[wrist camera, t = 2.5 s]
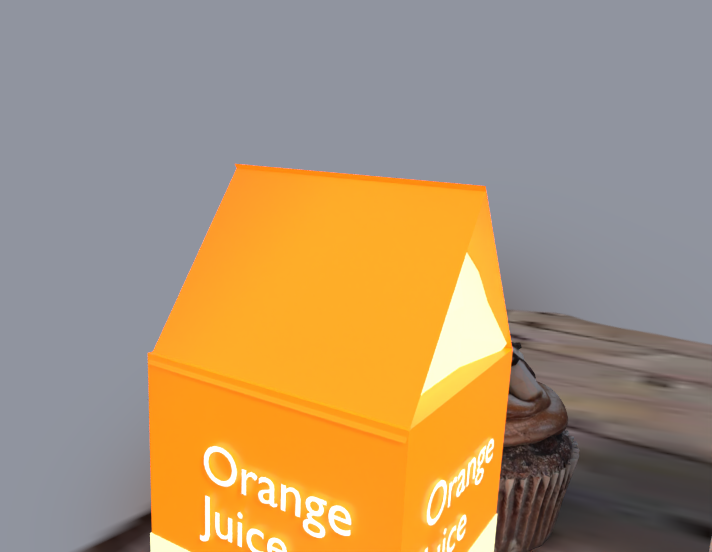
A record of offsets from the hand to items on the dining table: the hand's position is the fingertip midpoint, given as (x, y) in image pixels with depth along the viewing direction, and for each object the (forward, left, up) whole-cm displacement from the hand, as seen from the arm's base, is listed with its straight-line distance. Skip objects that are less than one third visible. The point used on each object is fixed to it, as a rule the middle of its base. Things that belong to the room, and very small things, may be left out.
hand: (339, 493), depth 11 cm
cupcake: (-22, -14, -16) cm, 31 cm away
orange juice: (-6, -8, -16) cm, 19 cm away
